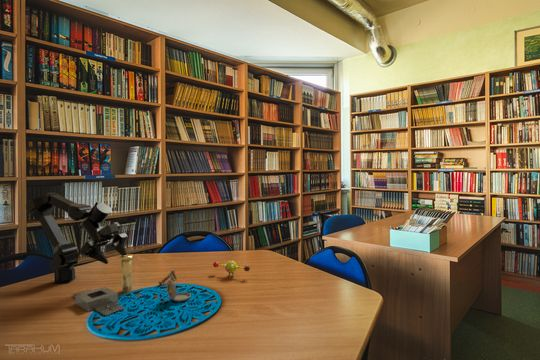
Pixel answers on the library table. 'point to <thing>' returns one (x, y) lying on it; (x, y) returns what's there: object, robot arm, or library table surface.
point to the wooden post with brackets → (167, 277)
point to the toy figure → (231, 267)
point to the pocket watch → (172, 292)
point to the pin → (126, 272)
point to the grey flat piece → (98, 300)
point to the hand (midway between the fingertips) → (117, 259)
